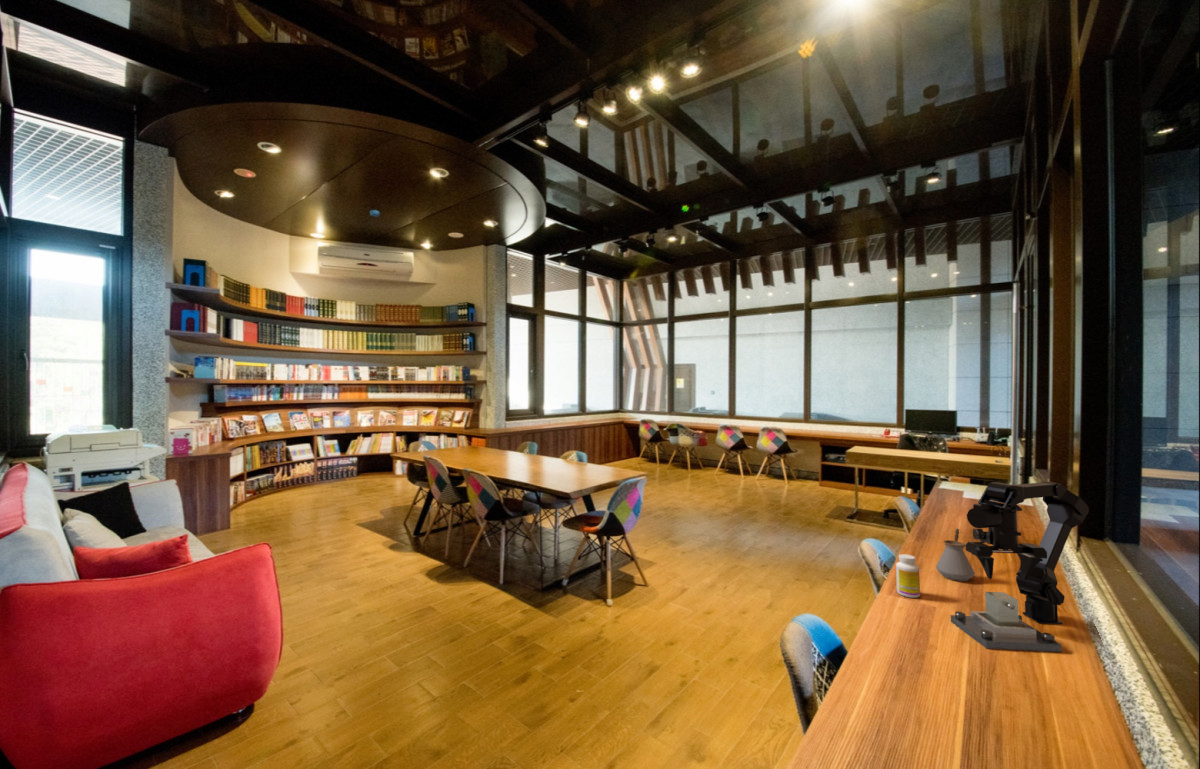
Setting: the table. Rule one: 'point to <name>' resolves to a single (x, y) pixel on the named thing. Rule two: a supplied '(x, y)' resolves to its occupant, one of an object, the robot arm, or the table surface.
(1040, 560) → the robot arm
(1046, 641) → the square hole base plate
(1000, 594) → the brushed metal square peg
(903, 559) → the supplement bottle
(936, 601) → the table surface
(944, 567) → the coffee pot
